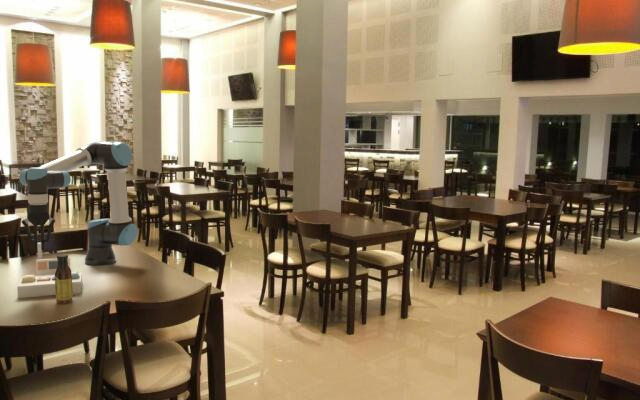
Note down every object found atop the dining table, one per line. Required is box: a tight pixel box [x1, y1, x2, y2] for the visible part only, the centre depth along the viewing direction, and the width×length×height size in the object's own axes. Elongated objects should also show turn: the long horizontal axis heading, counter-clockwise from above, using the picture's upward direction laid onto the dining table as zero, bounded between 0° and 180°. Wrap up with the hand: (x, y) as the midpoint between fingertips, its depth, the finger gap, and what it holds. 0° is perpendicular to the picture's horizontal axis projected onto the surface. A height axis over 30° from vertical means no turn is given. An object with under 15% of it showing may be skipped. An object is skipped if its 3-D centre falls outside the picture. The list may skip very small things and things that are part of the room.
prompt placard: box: [35, 257, 71, 276], centre depth 240 cm, size 14×1×11 cm, turn 113°
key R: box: [71, 271, 80, 279], centre depth 232 cm, size 4×4×4 cm
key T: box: [21, 274, 36, 283], centre depth 225 cm, size 4×4×4 cm
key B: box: [38, 277, 50, 282], centre depth 227 cm, size 4×4×4 cm
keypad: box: [16, 271, 83, 299], centre depth 229 cm, size 24×16×5 cm, turn 113°
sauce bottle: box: [55, 253, 74, 305], centre depth 213 cm, size 7×6×20 cm
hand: (39, 257), depth 225 cm, fingers closed
